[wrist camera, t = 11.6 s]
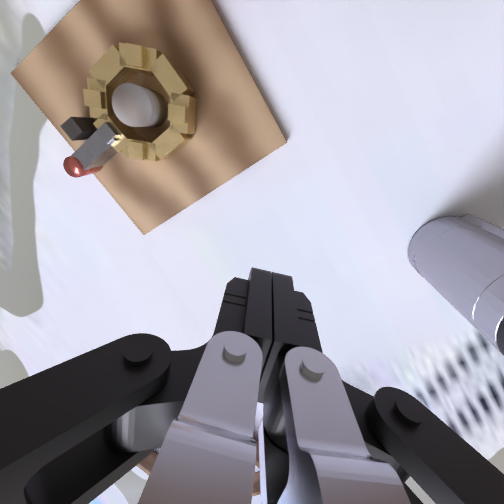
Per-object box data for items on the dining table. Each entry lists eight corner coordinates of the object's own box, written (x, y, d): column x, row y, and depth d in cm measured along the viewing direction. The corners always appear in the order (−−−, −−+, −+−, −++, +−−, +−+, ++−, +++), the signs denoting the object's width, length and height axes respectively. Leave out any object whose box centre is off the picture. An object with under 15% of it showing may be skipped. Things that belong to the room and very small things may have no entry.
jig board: (167, -80, 27) (139, -138, 21) (286, 142, 35) (290, 145, 29) (17, 74, 33) (-37, 63, 27) (146, 232, 41) (126, 250, 35)
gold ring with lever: (214, 119, 33) (206, 118, 29) (118, 201, 38) (99, 210, 34) (151, 28, 30) (131, 12, 25) (54, 131, 35) (24, 132, 30)
